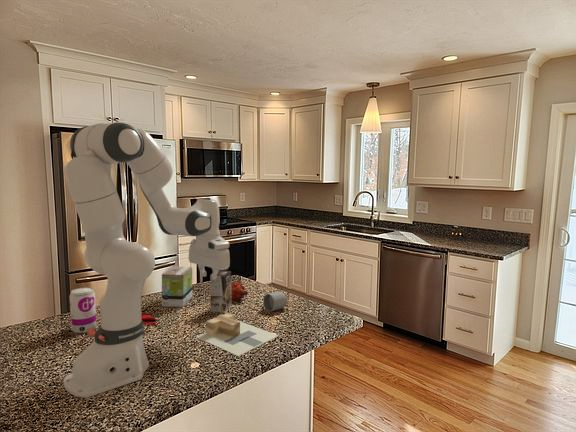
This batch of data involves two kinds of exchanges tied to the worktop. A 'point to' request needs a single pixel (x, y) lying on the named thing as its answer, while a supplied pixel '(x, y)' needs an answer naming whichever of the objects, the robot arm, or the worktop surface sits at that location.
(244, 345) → the sage board
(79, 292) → the supplement can
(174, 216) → the robot arm
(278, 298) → the ceramic mug
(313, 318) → the worktop surface
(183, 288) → the tea box
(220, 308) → the coffee box
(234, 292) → the dragon fruit
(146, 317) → the cloth
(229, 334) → the maple T block
